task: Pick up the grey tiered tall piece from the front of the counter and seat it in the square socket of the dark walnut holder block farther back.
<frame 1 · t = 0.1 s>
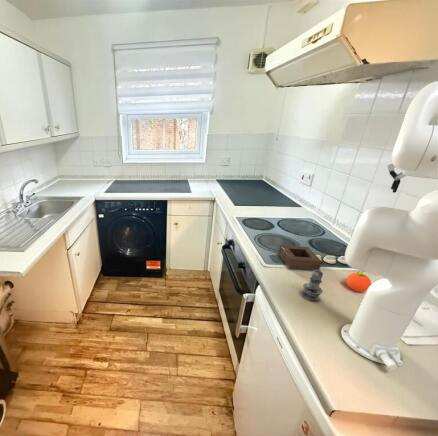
hand: (414, 194, 76), 37 cm above the worktop, tool pointing down, fingers open, 9 cm apart
grey tiered tall piece: (309, 296, 86), on the worktop
clementine: (354, 289, 90), on the worktop
shaker socket: (297, 262, 107), on the worktop
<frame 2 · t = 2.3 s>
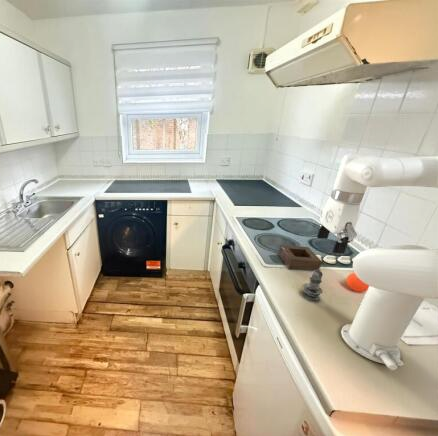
hand: (329, 245, 78), 21 cm above the worktop, tool pointing down, fingers open, 9 cm apart
nothing on the worktop moved.
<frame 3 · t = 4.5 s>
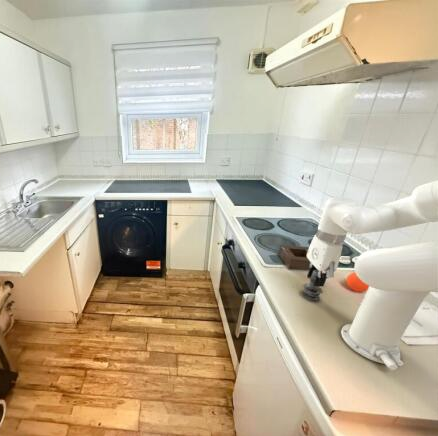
hand: (315, 281, 84), 7 cm above the worktop, tool pointing down, fingers closed on grey tiered tall piece, 3 cm apart
grey tiered tall piece: (309, 296, 86), on the worktop, touching gripper
everything else where it was.
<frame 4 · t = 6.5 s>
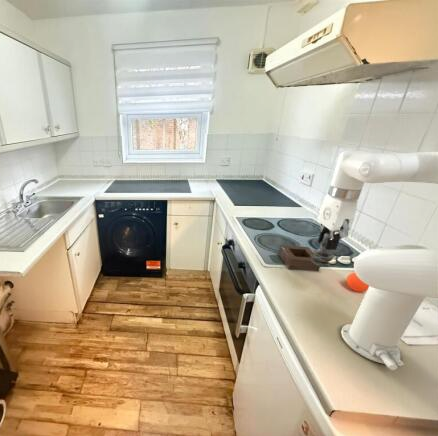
hand: (326, 245, 79), 21 cm above the worktop, tool pointing down, fingers closed on grey tiered tall piece, 3 cm apart
grey tiered tall piece: (320, 263, 81), point 14 cm above the worktop, touching gripper
everything else where it was.
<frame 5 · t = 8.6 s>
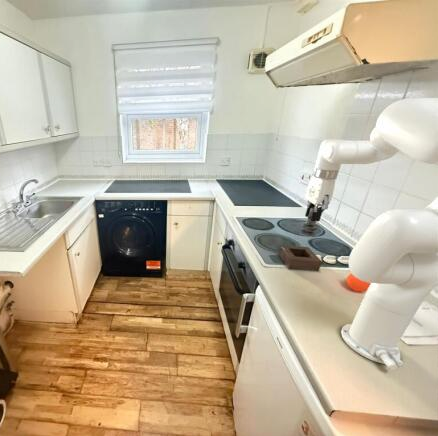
hand: (312, 218, 96), 22 cm above the worktop, tool pointing down, fingers closed on grey tiered tall piece, 3 cm apart
grey tiered tall piece: (307, 233, 98), point 16 cm above the worktop, touching gripper
everything else where it was.
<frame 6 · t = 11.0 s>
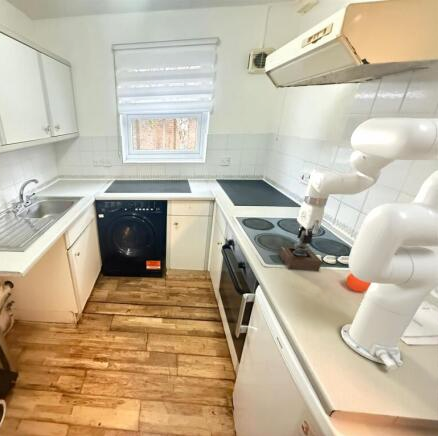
hand: (303, 240, 102), 11 cm above the worktop, tool pointing down, fingers closed on grey tiered tall piece, 3 cm apart
grey tiered tall piece: (299, 253, 105), point 4 cm above the worktop, touching gripper
everything else where it was.
when the fingers open (7 cm above the worktop, at t = 12.6 s): grey tiered tall piece stays where it is, resting in shaker socket.
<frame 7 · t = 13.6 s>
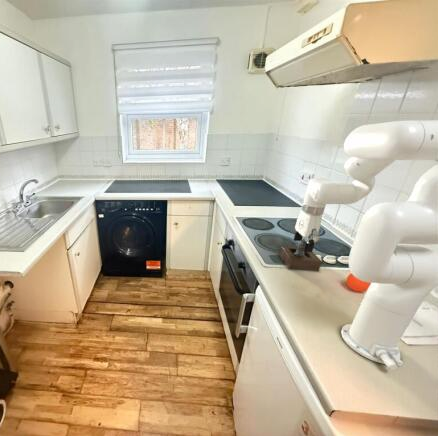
hand: (302, 245, 103), 9 cm above the worktop, tool pointing down, fingers open, 9 cm apart
grey tiered tall piece: (297, 262, 107), resting in shaker socket
everything else where it was.
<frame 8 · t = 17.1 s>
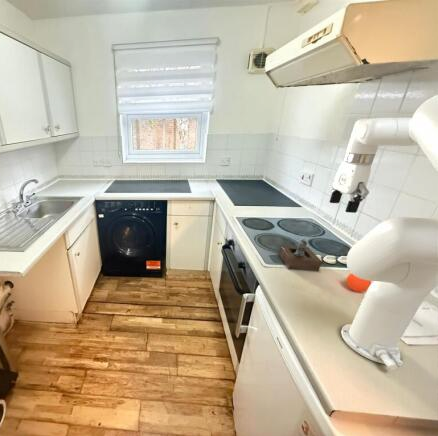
hand: (341, 207, 85), 30 cm above the worktop, tool pointing down, fingers open, 9 cm apart
nothing on the worktop moved.
at the end: grey tiered tall piece 0.1 cm off-centre in the shaker socket, point 0.0 cm above the shaker socket's base; grey tiered tall piece tilted 0° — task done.
